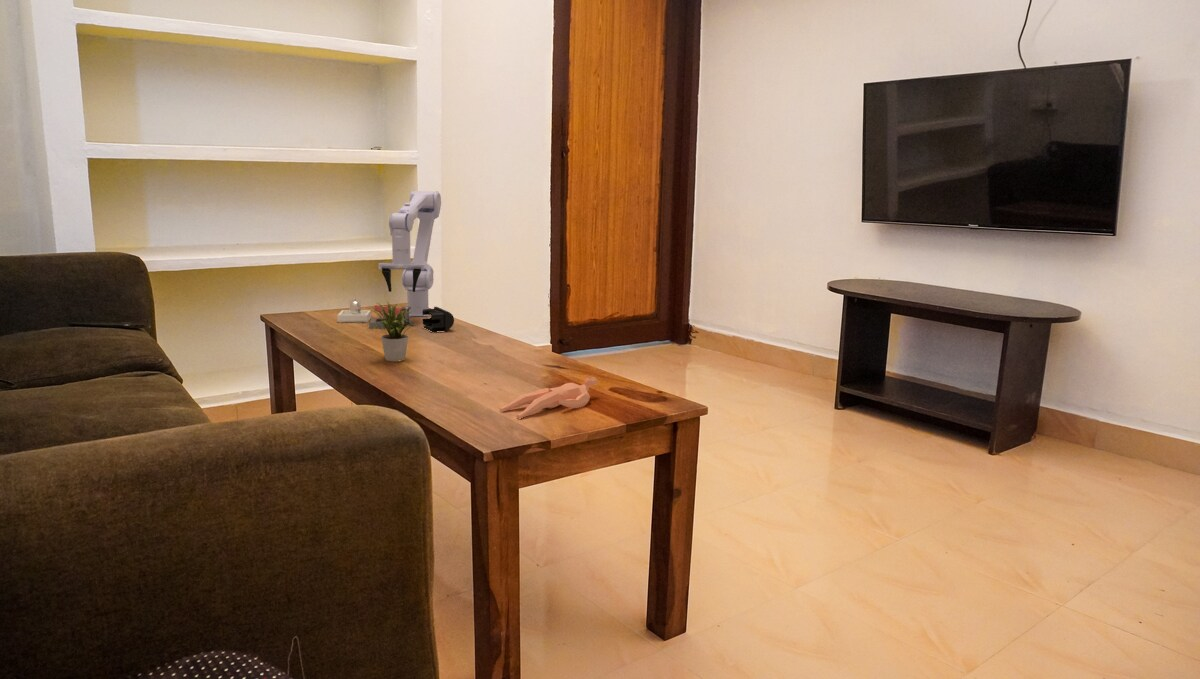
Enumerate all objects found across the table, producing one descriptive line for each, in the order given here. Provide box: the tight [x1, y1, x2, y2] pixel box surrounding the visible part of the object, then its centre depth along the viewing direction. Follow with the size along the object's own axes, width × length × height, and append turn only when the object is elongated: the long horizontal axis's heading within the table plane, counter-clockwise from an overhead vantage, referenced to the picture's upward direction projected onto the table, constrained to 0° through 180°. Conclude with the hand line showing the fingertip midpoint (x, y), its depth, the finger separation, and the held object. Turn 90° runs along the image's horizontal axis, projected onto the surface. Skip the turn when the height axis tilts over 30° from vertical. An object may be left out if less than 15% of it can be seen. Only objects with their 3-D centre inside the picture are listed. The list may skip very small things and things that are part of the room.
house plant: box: [370, 301, 419, 362], centre depth 210 cm, size 14×14×16 cm
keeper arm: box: [373, 304, 404, 316], centre depth 262 cm, size 13×3×2 cm, turn 59°
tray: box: [336, 309, 372, 324], centre depth 263 cm, size 9×9×2 cm
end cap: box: [422, 306, 455, 333], centre depth 252 cm, size 10×7×7 cm
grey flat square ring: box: [368, 317, 387, 329], centre depth 255 cm, size 8×8×2 cm
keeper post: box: [401, 305, 414, 326], centre depth 258 cm, size 4×4×6 cm
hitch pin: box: [348, 297, 362, 315], centre depth 261 cm, size 4×4×7 cm
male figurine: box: [499, 376, 598, 419], centre depth 175 cm, size 11×5×25 cm
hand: (402, 291), depth 259 cm, fingers open, 7 cm apart
